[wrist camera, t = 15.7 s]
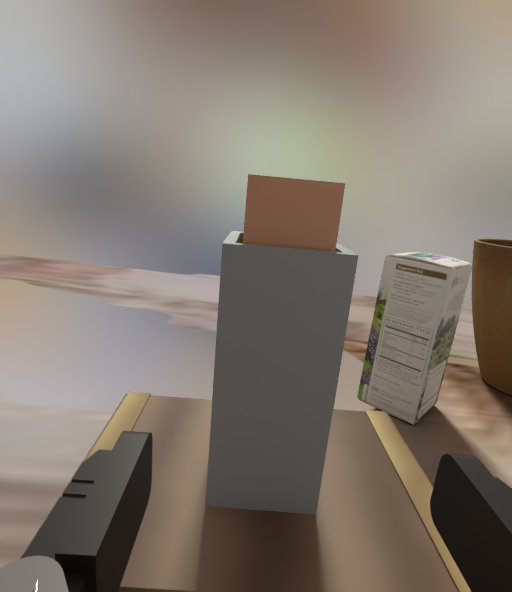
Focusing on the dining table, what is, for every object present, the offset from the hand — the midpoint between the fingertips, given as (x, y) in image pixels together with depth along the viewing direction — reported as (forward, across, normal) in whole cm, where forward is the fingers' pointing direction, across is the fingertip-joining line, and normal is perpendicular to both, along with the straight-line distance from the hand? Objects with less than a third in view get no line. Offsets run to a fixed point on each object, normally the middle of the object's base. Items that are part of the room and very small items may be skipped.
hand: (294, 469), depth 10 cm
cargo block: (+9, 0, -4) cm, 10 cm away
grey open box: (+9, 0, +8) cm, 12 cm away
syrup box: (+23, -14, +11) cm, 29 cm away
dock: (+10, 0, +11) cm, 15 cm away
